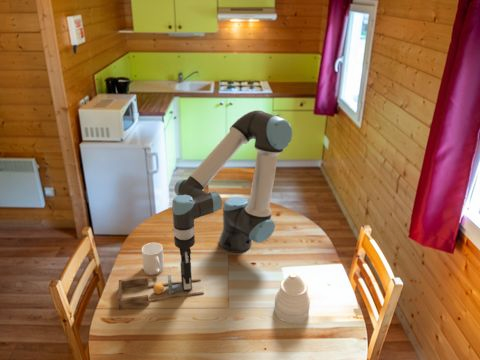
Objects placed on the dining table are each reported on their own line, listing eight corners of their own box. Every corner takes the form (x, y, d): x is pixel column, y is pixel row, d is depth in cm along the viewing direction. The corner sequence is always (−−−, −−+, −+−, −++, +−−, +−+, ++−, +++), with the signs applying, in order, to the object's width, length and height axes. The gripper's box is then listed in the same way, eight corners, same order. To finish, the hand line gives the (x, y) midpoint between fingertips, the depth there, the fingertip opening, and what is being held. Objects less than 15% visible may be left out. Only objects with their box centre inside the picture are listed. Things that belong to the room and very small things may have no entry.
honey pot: (300, 328, 141) (304, 288, 133) (268, 313, 147) (270, 275, 139) (314, 306, 151) (318, 268, 143) (283, 293, 157) (286, 256, 149)
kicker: (191, 282, 161) (189, 258, 156) (192, 292, 156) (191, 267, 151) (168, 285, 159) (166, 261, 154) (169, 295, 154) (167, 271, 149)
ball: (163, 288, 158) (163, 280, 156) (164, 295, 155) (163, 287, 153) (153, 290, 157) (152, 282, 156) (154, 296, 154) (153, 288, 152)
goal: (148, 284, 160) (147, 276, 159) (149, 304, 150) (148, 296, 148) (120, 288, 158) (118, 280, 156) (118, 309, 147) (117, 301, 146)
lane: (200, 279, 163) (200, 278, 163) (203, 293, 156) (203, 292, 156) (148, 286, 159) (148, 285, 159) (148, 301, 151) (148, 300, 151)
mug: (150, 282, 161) (148, 261, 157) (140, 266, 170) (138, 246, 166) (170, 275, 165) (168, 254, 161) (160, 260, 174) (158, 240, 170)
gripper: (172, 224, 154) (175, 272, 164) (176, 249, 139) (179, 300, 149) (191, 222, 156) (193, 270, 166) (197, 246, 141) (199, 297, 151)
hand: (186, 284), depth 157 cm, fingers closed on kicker, 4 cm apart
